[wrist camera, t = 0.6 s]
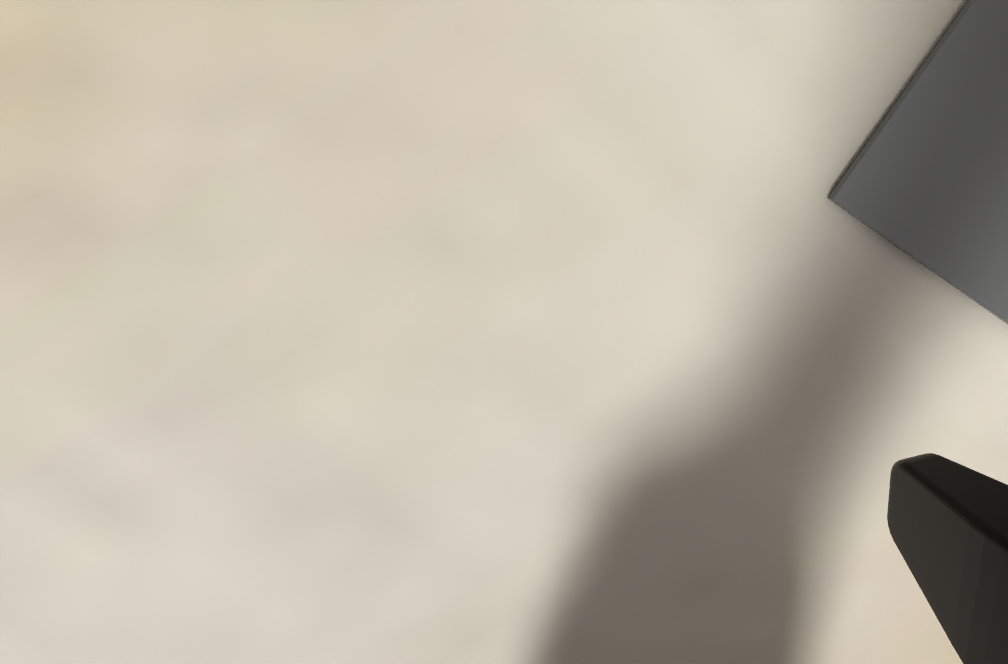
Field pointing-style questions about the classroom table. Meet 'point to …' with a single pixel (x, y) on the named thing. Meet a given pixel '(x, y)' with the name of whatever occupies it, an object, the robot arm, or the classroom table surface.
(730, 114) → the classroom table surface
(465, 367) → the classroom table surface
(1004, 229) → the felt mat
